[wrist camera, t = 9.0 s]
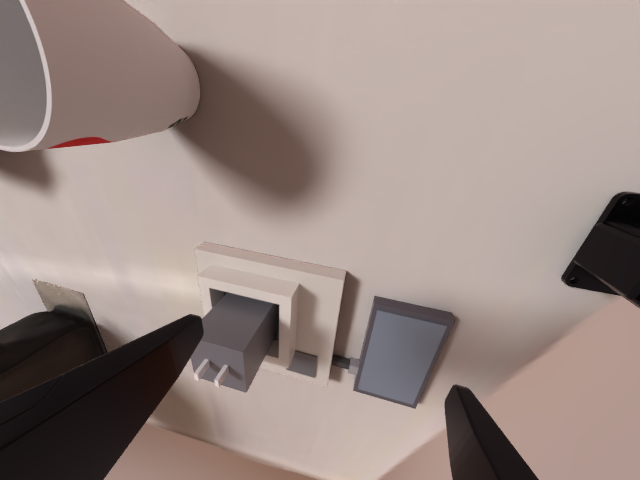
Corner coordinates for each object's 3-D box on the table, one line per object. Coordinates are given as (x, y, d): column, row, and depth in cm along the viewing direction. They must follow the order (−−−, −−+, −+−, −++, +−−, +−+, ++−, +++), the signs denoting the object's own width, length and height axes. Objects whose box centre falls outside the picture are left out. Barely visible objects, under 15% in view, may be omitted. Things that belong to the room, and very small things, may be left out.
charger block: (277, 297, 21) (233, 367, 15) (277, 333, 23) (237, 408, 17) (232, 287, 22) (172, 349, 16) (236, 322, 24) (183, 391, 18)
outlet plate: (346, 270, 21) (339, 295, 17) (329, 374, 27) (322, 406, 24) (204, 241, 23) (176, 259, 20) (218, 343, 29) (199, 368, 26)
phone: (451, 312, 20) (455, 322, 19) (414, 398, 25) (415, 409, 24) (374, 296, 21) (374, 304, 20) (354, 381, 26) (353, 391, 25)
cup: (120, 111, 19) (-97, 95, 11) (126, -14, 16) (-208, -201, 7) (206, 160, 19) (59, 185, 11) (232, 47, 16) (36, -61, 7)
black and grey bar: (360, 360, 25) (359, 367, 24) (358, 367, 25) (357, 375, 24) (334, 353, 25) (332, 360, 24) (332, 360, 26) (331, 368, 25)
